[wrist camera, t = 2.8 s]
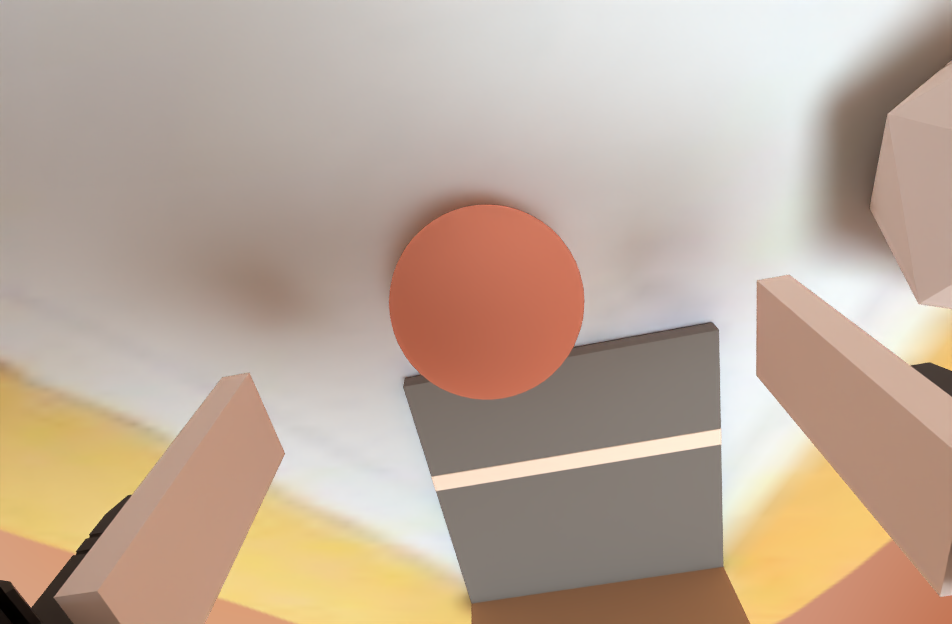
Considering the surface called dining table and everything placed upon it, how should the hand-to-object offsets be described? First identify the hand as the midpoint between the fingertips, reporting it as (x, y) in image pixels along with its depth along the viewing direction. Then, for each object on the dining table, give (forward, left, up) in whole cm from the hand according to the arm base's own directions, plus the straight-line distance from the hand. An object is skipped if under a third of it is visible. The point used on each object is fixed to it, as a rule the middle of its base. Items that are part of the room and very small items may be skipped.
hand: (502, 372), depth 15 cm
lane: (+11, +2, -7) cm, 12 cm away
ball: (0, 0, -7) cm, 7 cm away
